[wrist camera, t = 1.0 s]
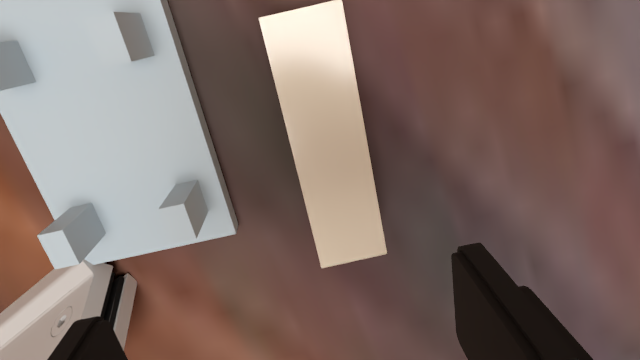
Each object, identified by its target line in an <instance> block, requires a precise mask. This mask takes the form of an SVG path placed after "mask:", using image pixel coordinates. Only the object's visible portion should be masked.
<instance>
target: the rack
mask: <svg viewBox="0 0 640 360" xmlns="http://www.w3.org/2000/svg"><path fill="white" fill-rule="evenodd" d="M0 113H1V115H2V117H3V119H4V121H5V123H6V125H7V127H8V129H9V131H10V133H11V135H12V137H13V139H14V141H15V143H16V145H17V147H18V149H19V151H20V153H21V155H22V157H23V159H24V161H25V163H26V164H27V166H28V168H29V170H30V172H31V174H32V176H33V178H34V180H35V182H36V184H37V186H38V188H39V190H40V192H41V194H42V196H43V198H44V200H45V202H46V204H47V206H48V208H49V210H50V212H51V214H52V216H53V218H54V220H55V221H54V222H53V223H51V224H50V225H49V226H48V227H47V228H45V229H44V230H43V231H42V232H41V233H40V234H38V235H37V237H38V238H39V240H40V242H41V244H42V246H43V248H44V250H45V252H46V253H47V255H48V257H49V259H50V261H51V263H52V265H53V267H54V268H55V269H60V268H64V267H69V266H74V265H78V264H80V263H81V262H82V261H83V260H84V259H85V260H87V261H88V262H90V263H91V264H93V265H96V264H100V263H105V262H109V261H114V260H119V259H123V258H128V257H132V256H137V255H142V254H146V253H151V252H155V251H160V250H165V249H169V248H174V247H178V246H183V245H188V244H192V243H197V242H202V241H206V240H211V239H215V238H220V237H225V236H229V235H234V234H236V233H237V229H238V221H237V218H236V215H235V212H234V209H233V206H232V203H231V199H230V196H229V193H228V190H227V187H226V184H225V181H224V177H223V174H222V171H221V168H220V165H219V162H218V159H217V155H216V152H215V149H214V146H213V143H212V140H211V137H210V133H209V130H208V127H207V124H206V121H205V118H204V115H203V112H202V108H201V105H200V102H199V99H198V96H197V93H196V90H195V86H194V83H193V80H192V77H191V74H190V71H189V68H188V64H187V61H186V58H185V55H184V52H183V49H182V46H181V42H180V39H179V36H178V33H177V30H176V27H175V24H174V20H173V17H172V14H171V11H170V8H169V5H168V2H167V0H0Z"/></svg>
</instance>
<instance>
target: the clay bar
mask: <svg viewBox="0 0 640 360" xmlns="http://www.w3.org/2000/svg"><path fill="white" fill-rule="evenodd" d="M259 22H260V26H261V30H262V34H263V38H264V42H265V46H266V50H267V54H268V58H269V62H270V66H271V70H272V74H273V78H274V81H275V85H276V89H277V93H278V97H279V101H280V105H281V109H282V113H283V117H284V121H285V125H286V129H287V133H288V137H289V141H290V145H291V149H292V153H293V157H294V161H295V165H296V169H297V173H298V177H299V181H300V185H301V189H302V193H303V197H304V201H305V205H306V209H307V213H308V217H309V221H310V224H311V228H312V232H313V236H314V240H315V244H316V248H317V252H318V256H319V260H320V264H321V268H325V267H330V266H335V265H339V264H344V263H348V262H353V261H357V260H362V259H366V258H371V257H375V256H380V255H384V254H387V251H386V245H385V240H384V234H383V228H382V223H381V217H380V211H379V206H378V200H377V195H376V189H375V183H374V178H373V172H372V166H371V161H370V155H369V149H368V144H367V138H366V133H365V127H364V121H363V116H362V110H361V104H360V99H359V93H358V87H357V82H356V76H355V71H354V65H353V59H352V54H351V48H350V42H349V37H348V31H347V26H346V20H345V14H344V9H343V3H342V0H334V1H330V2H325V3H321V4H317V5H312V6H308V7H304V8H299V9H295V10H291V11H286V12H282V13H278V14H273V15H269V16H265V17H260V18H259Z"/></svg>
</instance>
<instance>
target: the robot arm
mask: <svg viewBox="0 0 640 360" xmlns="http://www.w3.org/2000/svg"><path fill="white" fill-rule="evenodd" d="M452 274H453V289H454V305H455V320H456V333H457V337H458V340H459V343H460V345H461V347H462V349H463V351H464V353H465V355H466V357H467V358H468V360H593V359H592V358H591V356H590V355H589V354H588V353H587V352H586V351H585V350H584V349H583V347H582V346H581V345H580V344H579V343H578V342H577V341H576V340H575V338H574V337H573V336H572V335H571V334H570V333H569V332H568V331H567V329H566V328H565V327H564V326H563V325H562V324H561V323H560V322H559V320H558V319H557V318H556V317H555V316H554V315H553V314H552V313H551V312H550V310H549V309H548V308H547V307H546V306H545V305H544V304H543V303H542V301H541V300H540V299H539V298H538V297H537V296H536V295H535V294H534V292H533V291H532V290H531V289H529V288H528V287H526V286H520V287H518V286H517V285H516V284H515V282H514V281H513V280H512V279H511V278H510V277H509V275H508V274H507V273H506V272H505V271H504V269H503V268H502V267H501V266H500V265H499V264H498V262H497V261H496V260H495V259H494V258H493V257H492V255H491V254H490V253H489V252H488V251H487V250H486V248H485V247H484V246H483V245H482V244H481V243H475V244H470V245H464V246H459V247H458V250H457V253H453V254H452ZM47 360H128V359H127V357H126V355H125V353H124V351H123V349H122V347H121V344H120V342H119V340H118V338H117V336H116V334H115V332H114V330H113V328H112V325H111V324H110V322H109V321H107V320H104V319H103V318H102V317H100V316H96V317H91V318H86V319H80V320H77V321H75V322H74V323H73V324H72V325H71V327H70V328H69V329H68V331H67V332H66V334H65V335H64V336H63V338H62V339H61V341H60V342H59V344H58V345H57V346H56V348H55V349H54V351H53V352H52V354H51V355H50V356H49V358H48V359H47Z"/></svg>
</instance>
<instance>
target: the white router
mask: <svg viewBox="0 0 640 360" xmlns="http://www.w3.org/2000/svg"><path fill="white" fill-rule="evenodd" d="M112 269H113V266H111V265H108V264H105V263H100V264H96V265H93V264H91V263H90V262H88V261H87V260H85V259H84V260H83V261H82V262H81V263H80V264H78V265H74V266H69V267H64V268H60V269H53V270H52V271H51V272H50V273H49V274H47V275H46V276H45V277H44V278H43V279H41V280H40V281H39V282H38V283H37V284H35V285H34V286H33V287H32V288H30V289H29V290H28V291H27V292H26V293H24V294H23V295H22V296H21V297H20V298H18V299H17V300H16V301H15V302H14V303H12V304H11V305H10V306H9V307H8V308H6V309H5V310H4V311H3V312H2V313H0V360H47V359H48V358H49V356H50V355H51V354H52V352H53V351H54V349H55V348H56V346H57V345H58V344H59V342H60V341H61V339H62V338H63V336H64V335H65V334H66V332H67V331H68V329H69V328H70V327H71V325H72V324H73V323H74V322H75V321H77V320H80V319H86V318H91V317H96V316H100V317H102V318H103V319H104V320H107V321H109V322H110V324H111V325H112V328H113V330H114V332H115V334H116V336H117V338H118V340H119V342H120V344H121V347H122V349H123V351H124V347H125V342H126V337H127V332H128V327H129V322H130V317H131V312H132V307H133V302H134V297H135V292H136V287H137V281H136V280H135V279H134V278H133V277H132V276H131V275H129V274H128V273H127V274H126V275H125V276H123V277H122V276H119V277H118V278H117V279H115V280H114V281H113V279H114V275H115V273H113V272H112Z"/></svg>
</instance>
